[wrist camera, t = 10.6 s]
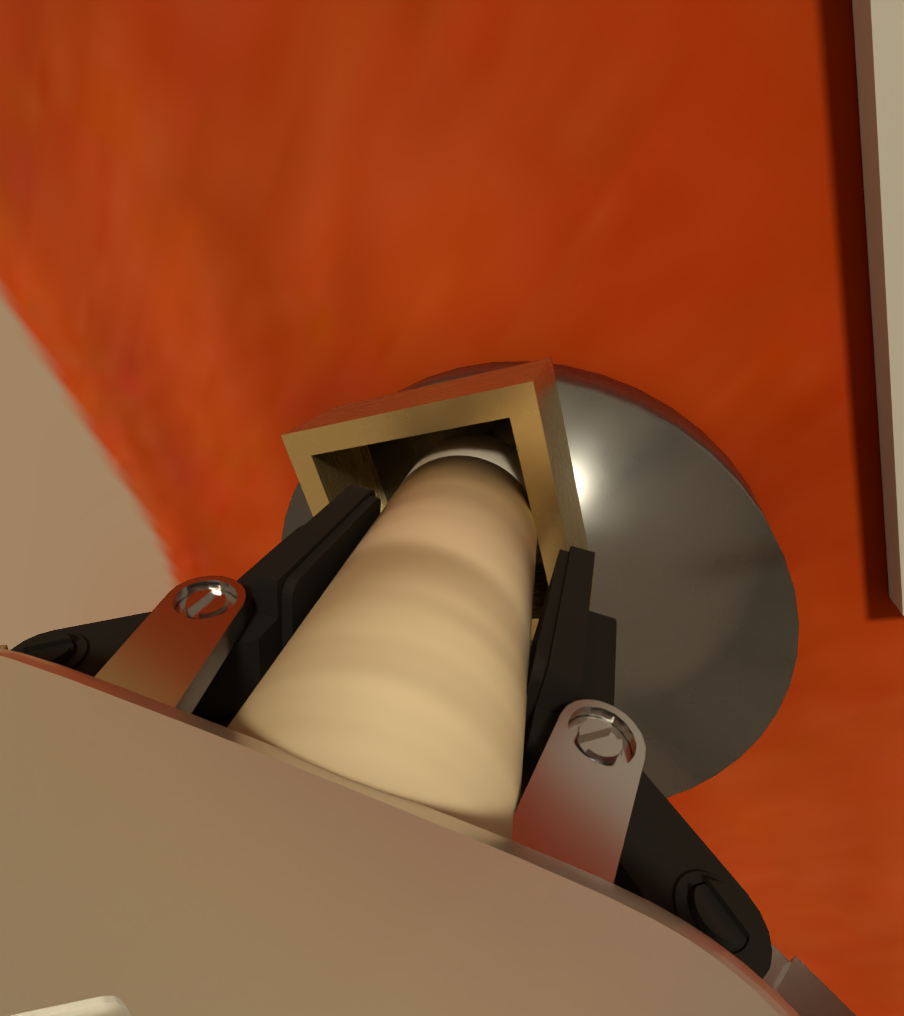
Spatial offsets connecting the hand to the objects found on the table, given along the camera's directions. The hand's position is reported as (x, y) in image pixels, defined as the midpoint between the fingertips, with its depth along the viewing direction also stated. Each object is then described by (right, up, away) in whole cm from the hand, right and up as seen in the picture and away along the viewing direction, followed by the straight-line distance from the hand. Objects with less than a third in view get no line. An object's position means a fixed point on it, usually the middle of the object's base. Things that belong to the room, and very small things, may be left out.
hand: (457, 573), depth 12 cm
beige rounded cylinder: (+1, +2, +4) cm, 4 cm away
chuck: (+3, -2, +9) cm, 9 cm away
